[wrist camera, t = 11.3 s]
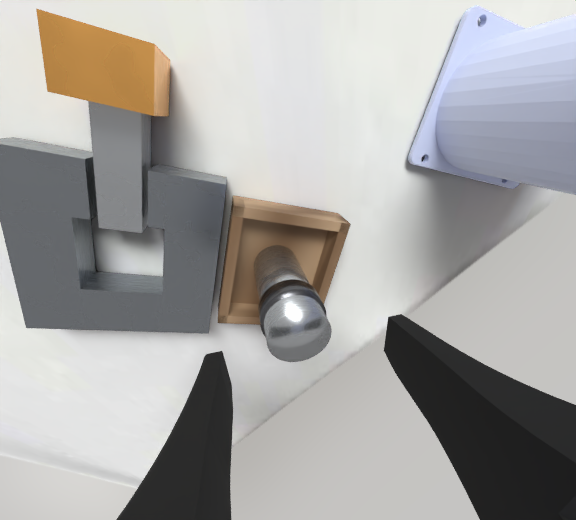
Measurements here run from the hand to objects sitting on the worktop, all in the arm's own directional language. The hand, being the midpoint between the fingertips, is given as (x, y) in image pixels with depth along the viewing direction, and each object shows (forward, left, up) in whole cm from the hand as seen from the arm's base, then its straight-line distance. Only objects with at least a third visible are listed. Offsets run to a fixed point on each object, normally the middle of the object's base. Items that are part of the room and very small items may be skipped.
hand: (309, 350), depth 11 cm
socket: (+9, 0, -9) cm, 12 cm away
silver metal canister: (0, 0, -8) cm, 8 cm away
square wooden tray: (0, 0, -9) cm, 9 cm away
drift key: (+9, -6, -8) cm, 14 cm away
